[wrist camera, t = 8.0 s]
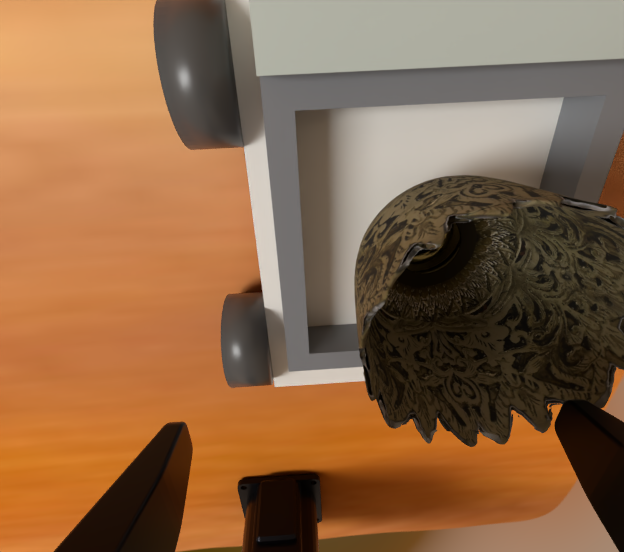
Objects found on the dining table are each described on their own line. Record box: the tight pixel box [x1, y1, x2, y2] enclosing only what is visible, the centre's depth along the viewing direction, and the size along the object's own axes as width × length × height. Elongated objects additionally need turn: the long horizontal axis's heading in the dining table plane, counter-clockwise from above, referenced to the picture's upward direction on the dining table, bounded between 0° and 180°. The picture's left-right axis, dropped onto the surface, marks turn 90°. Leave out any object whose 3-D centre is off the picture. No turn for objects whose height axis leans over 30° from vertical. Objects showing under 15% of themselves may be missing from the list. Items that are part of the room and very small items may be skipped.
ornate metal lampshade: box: [354, 175, 624, 447], centre depth 12 cm, size 8×7×8 cm
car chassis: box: [154, 0, 624, 388], centre depth 16 cm, size 18×18×6 cm
